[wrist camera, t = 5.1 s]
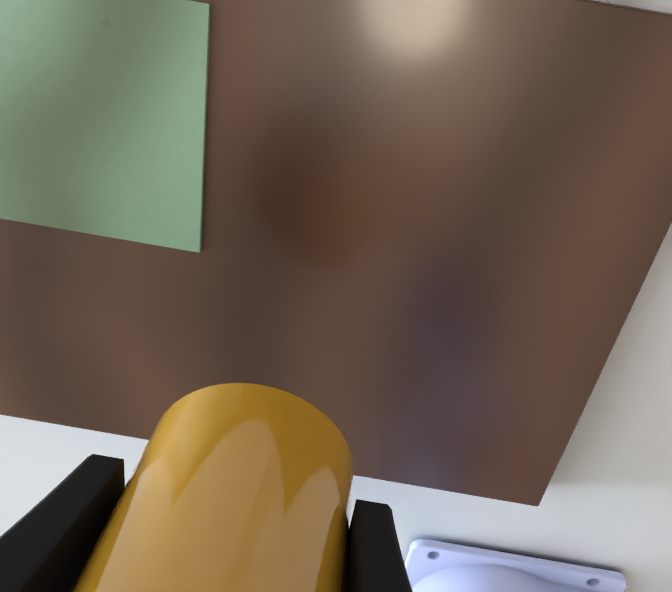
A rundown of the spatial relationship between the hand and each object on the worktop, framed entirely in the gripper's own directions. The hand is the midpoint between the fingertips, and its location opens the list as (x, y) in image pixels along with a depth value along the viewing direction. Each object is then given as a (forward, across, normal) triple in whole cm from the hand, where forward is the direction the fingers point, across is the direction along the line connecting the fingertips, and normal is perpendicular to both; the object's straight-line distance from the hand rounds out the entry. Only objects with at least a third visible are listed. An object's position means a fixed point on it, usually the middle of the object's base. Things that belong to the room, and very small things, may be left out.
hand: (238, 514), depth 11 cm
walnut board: (+10, +1, -1) cm, 10 cm away
